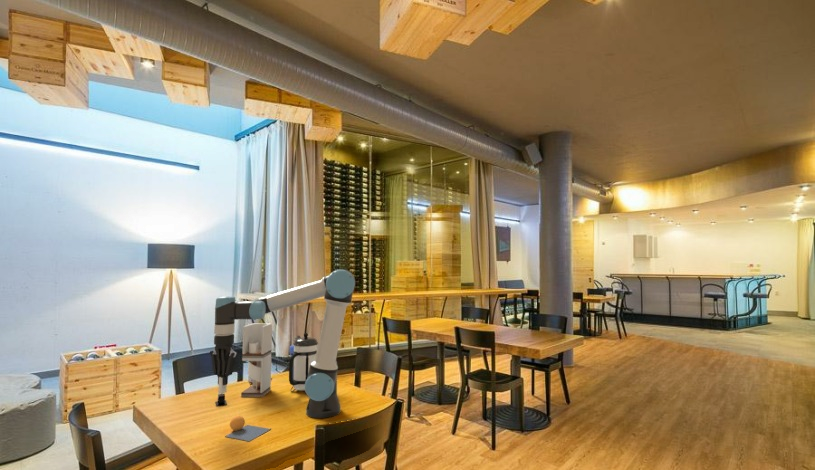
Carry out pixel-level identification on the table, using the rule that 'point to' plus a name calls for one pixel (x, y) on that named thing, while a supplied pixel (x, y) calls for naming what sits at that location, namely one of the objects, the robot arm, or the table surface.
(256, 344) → the wooden cubby shelf
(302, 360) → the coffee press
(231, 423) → the ball
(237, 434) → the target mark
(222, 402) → the black recessed block
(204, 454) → the table surface
